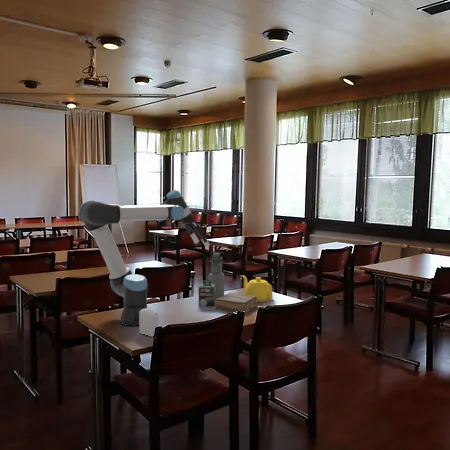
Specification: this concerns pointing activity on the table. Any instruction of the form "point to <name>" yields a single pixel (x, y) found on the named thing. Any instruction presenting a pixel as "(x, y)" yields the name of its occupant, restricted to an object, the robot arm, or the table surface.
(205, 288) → the chalk box
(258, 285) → the teapot
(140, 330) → the photo printer
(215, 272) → the water bottle
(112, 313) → the table surface
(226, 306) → the walnut stand
